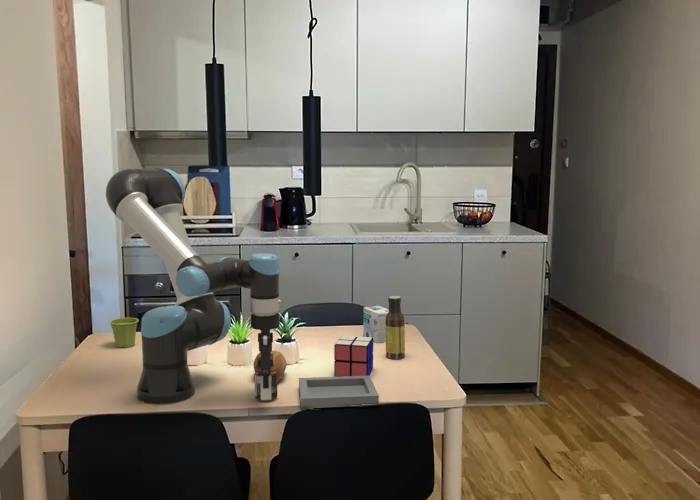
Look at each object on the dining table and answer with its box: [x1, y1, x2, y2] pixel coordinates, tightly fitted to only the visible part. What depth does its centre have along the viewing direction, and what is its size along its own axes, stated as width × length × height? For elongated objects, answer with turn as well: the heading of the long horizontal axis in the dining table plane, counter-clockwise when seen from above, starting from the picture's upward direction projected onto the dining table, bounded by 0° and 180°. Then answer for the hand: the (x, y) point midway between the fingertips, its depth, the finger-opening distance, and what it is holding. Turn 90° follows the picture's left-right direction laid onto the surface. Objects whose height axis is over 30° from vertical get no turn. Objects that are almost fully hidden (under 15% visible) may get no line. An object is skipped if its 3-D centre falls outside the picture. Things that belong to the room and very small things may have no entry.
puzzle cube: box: [333, 335, 374, 377], centre depth 201 cm, size 10×10×10 cm
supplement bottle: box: [254, 356, 278, 403], centre depth 179 cm, size 6×6×11 cm
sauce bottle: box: [385, 295, 406, 360], centre depth 216 cm, size 6×6×20 cm
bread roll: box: [253, 349, 287, 382], centre depth 196 cm, size 10×15×8 cm, turn 6°
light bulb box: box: [362, 305, 389, 344], centre depth 238 cm, size 11×7×11 cm, turn 28°
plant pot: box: [108, 317, 140, 348], centre depth 228 cm, size 9×9×9 cm
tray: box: [298, 375, 380, 411], centre depth 181 cm, size 20×16×3 cm
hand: (266, 390), depth 180 cm, fingers open, 13 cm apart
